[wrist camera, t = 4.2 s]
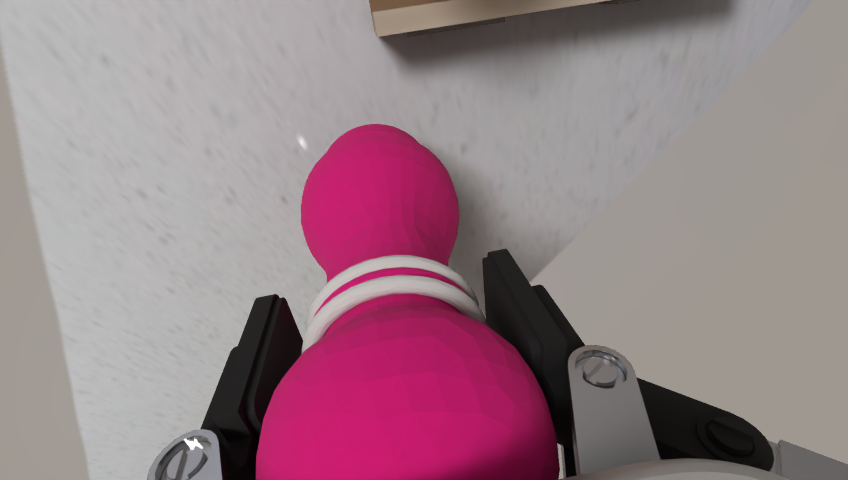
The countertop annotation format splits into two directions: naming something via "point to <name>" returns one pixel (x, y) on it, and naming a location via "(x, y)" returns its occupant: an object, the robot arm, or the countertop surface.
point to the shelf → (455, 13)
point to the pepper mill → (398, 338)
